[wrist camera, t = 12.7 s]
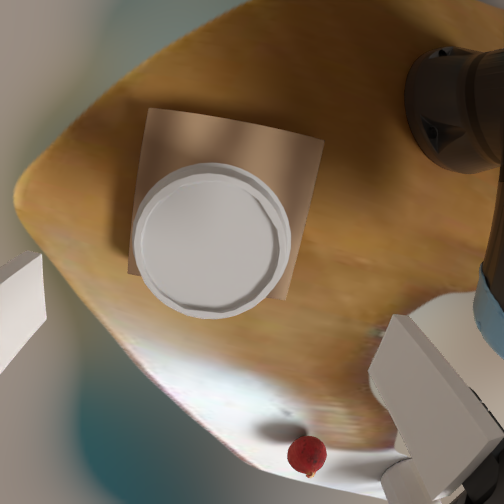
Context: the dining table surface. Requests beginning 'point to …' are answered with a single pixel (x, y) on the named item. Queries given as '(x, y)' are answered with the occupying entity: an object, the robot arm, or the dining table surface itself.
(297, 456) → the onion
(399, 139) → the dining table surface
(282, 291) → the square wooden board
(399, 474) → the jar
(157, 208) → the disposable coffee cup
